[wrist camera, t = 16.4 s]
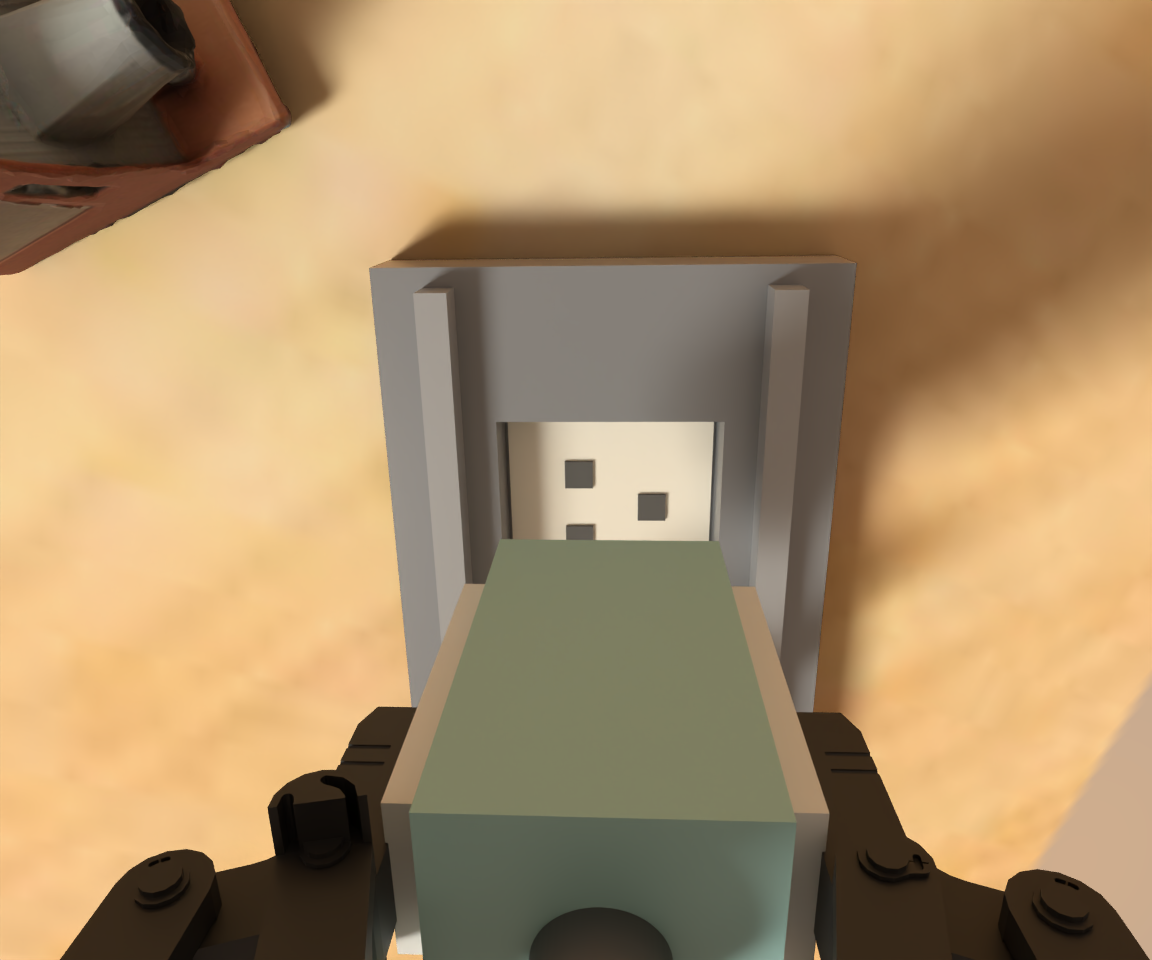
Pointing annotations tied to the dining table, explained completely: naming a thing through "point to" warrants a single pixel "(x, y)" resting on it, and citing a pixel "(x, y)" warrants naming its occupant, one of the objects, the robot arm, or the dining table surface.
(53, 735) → the dining table surface
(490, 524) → the socket board
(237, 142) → the electronic device
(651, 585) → the teal bottle
